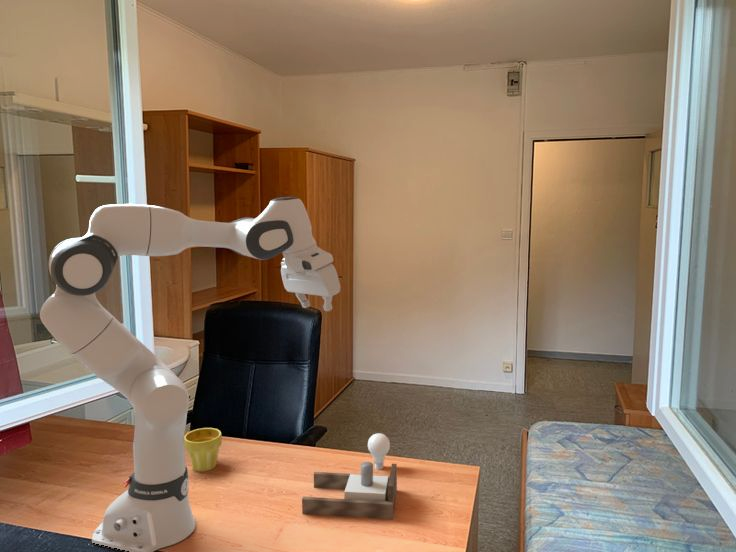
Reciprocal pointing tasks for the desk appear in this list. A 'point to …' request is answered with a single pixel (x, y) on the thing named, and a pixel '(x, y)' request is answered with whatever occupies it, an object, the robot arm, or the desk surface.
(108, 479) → the desk surface
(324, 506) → the bay
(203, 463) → the plant pot
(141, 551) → the robot arm
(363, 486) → the white box with knob
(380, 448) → the lightbulb
